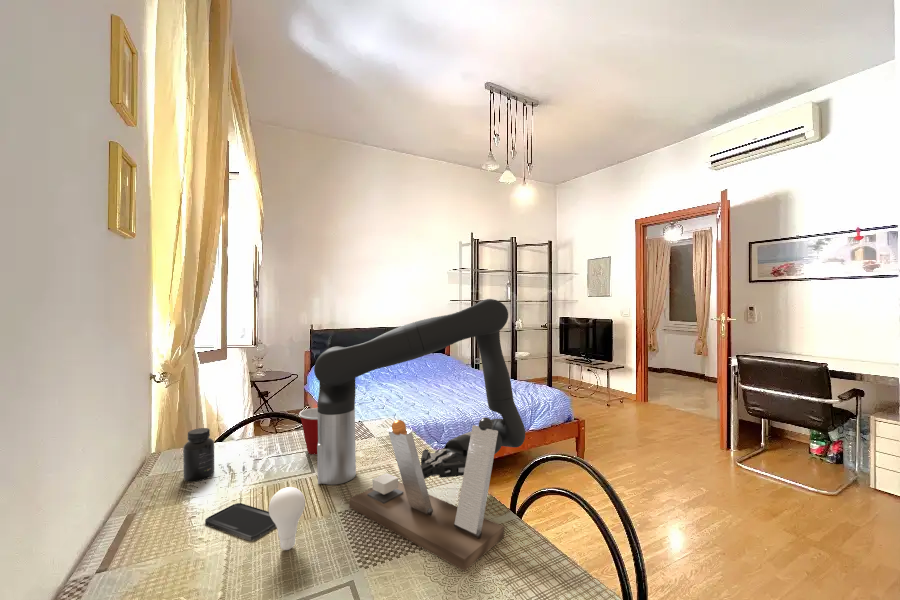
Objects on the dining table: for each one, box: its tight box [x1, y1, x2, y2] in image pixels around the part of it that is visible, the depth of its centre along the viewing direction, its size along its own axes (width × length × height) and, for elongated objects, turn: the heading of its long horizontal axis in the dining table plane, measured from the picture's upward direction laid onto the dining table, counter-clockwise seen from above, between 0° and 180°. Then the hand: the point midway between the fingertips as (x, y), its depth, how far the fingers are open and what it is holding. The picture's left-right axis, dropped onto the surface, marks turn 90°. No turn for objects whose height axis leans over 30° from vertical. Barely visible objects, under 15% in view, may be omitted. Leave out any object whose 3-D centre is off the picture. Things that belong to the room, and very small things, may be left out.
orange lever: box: [387, 419, 433, 515], centre depth 77 cm, size 3×6×21 cm, turn 50°
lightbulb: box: [268, 486, 306, 551], centre depth 71 cm, size 6×6×11 cm
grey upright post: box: [454, 416, 498, 538], centre depth 74 cm, size 3×6×21 cm, turn 50°
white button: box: [371, 472, 399, 495], centre depth 86 cm, size 4×4×3 cm
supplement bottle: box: [182, 427, 215, 483], centre depth 101 cm, size 7×7×12 cm
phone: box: [204, 502, 277, 542], centre depth 80 cm, size 8×1×15 cm
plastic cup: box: [298, 407, 318, 455], centre depth 118 cm, size 11×11×12 cm
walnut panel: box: [348, 481, 505, 572], centre depth 79 cm, size 12×32×2 cm, turn 50°
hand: (415, 475), depth 78 cm, fingers closed
